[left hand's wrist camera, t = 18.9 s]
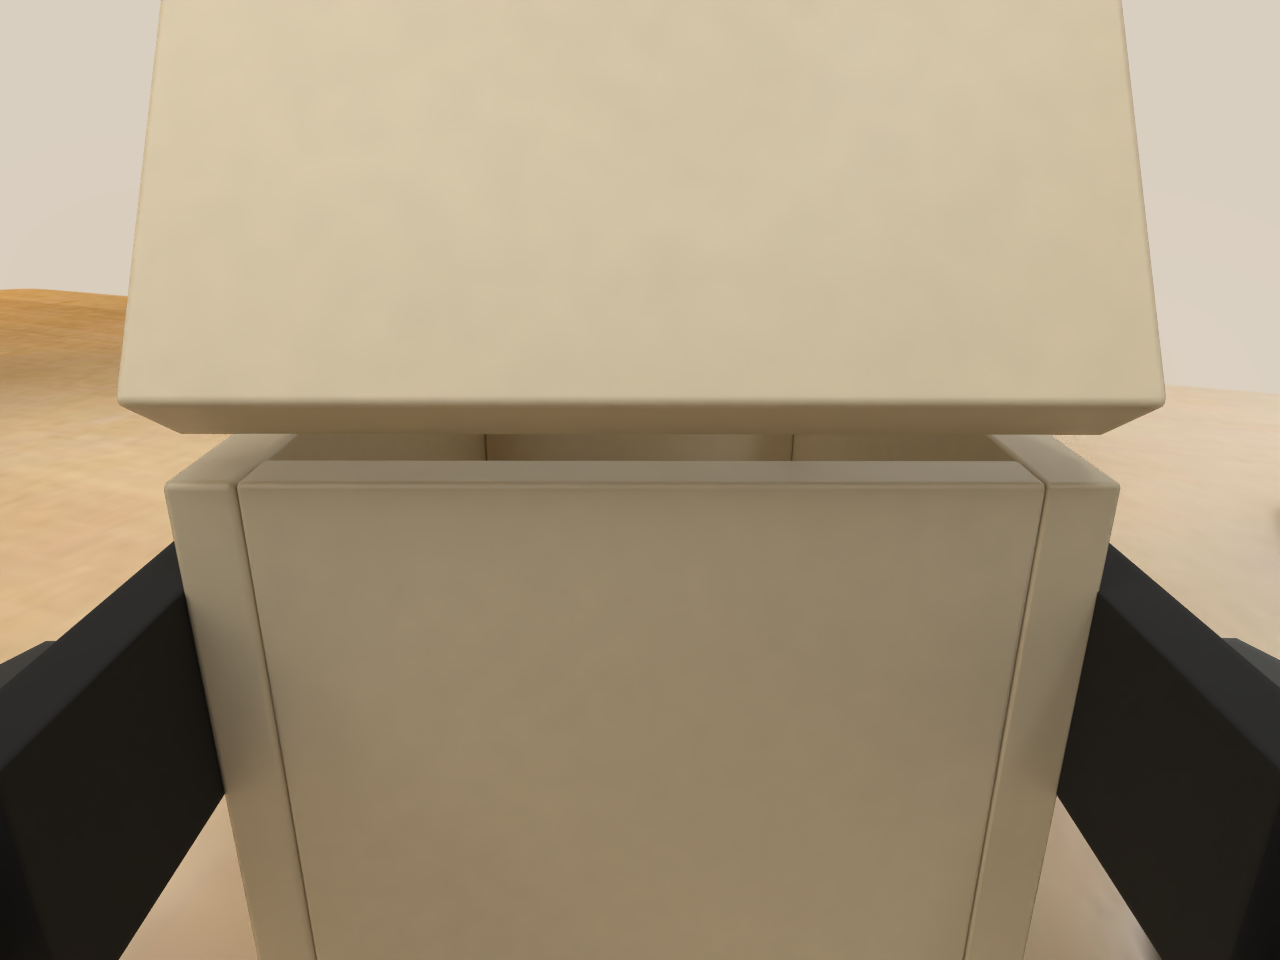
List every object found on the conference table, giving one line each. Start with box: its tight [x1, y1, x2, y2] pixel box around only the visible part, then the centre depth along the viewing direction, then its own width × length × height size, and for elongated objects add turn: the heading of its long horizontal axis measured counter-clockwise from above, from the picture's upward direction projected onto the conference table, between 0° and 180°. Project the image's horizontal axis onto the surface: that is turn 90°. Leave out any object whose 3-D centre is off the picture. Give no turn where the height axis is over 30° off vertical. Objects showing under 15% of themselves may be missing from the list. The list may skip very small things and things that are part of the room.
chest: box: [164, 434, 1120, 960], centre depth 18 cm, size 15×10×9 cm, turn 0°
